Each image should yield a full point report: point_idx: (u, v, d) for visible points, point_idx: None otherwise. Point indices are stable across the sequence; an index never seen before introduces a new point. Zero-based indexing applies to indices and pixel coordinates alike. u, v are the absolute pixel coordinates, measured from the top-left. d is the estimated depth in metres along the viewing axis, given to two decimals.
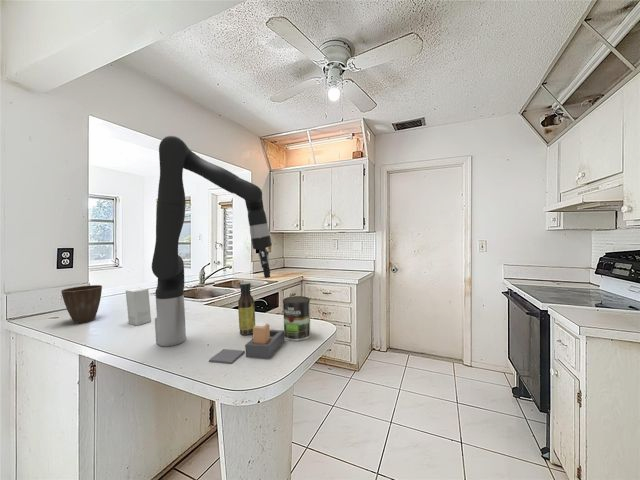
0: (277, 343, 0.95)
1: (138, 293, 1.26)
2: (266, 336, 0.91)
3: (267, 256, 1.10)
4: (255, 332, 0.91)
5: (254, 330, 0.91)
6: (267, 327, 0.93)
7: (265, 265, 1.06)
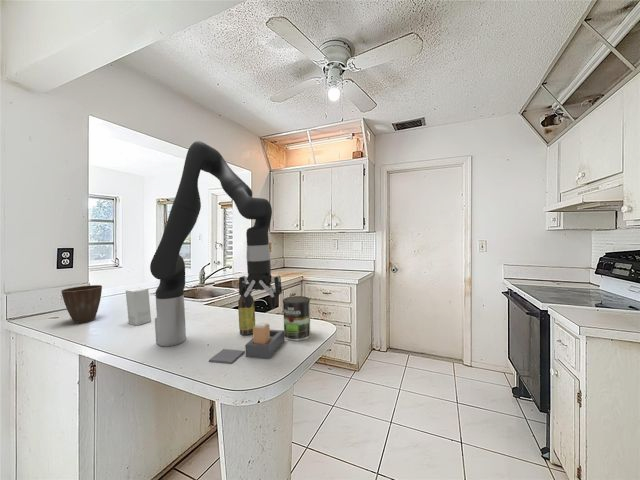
0: (277, 343, 0.95)
1: (138, 293, 1.26)
2: (266, 336, 0.91)
3: (250, 284, 0.92)
4: (255, 332, 0.91)
5: (254, 330, 0.91)
6: (267, 327, 0.93)
7: None
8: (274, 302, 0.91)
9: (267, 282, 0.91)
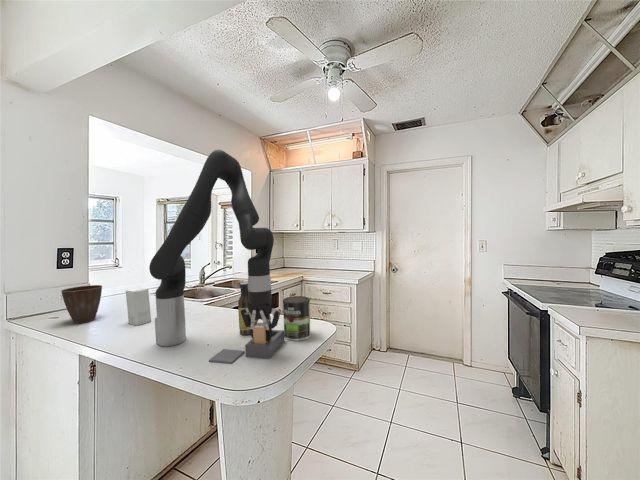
0: (277, 343, 0.95)
1: (138, 293, 1.26)
2: None
3: (252, 315, 0.92)
4: (255, 332, 0.91)
5: (254, 330, 0.91)
6: None
7: None
8: (269, 335, 0.91)
9: (267, 314, 0.91)
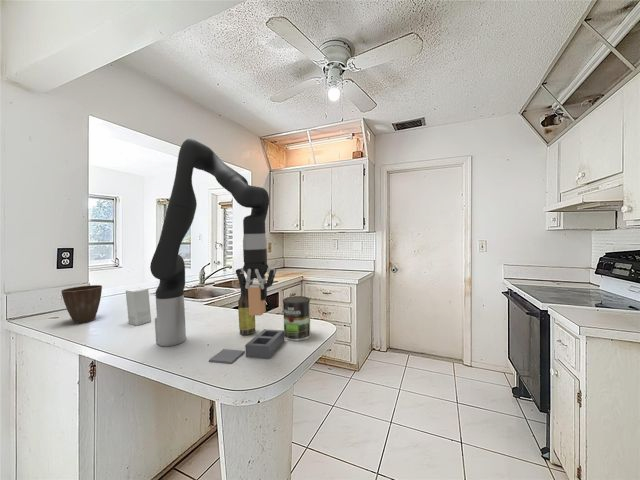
0: (277, 343, 0.95)
1: (138, 292, 1.26)
2: None
3: (247, 274, 0.91)
4: (250, 292, 0.90)
5: (249, 290, 0.90)
6: None
7: None
8: (264, 294, 0.91)
9: (262, 273, 0.90)
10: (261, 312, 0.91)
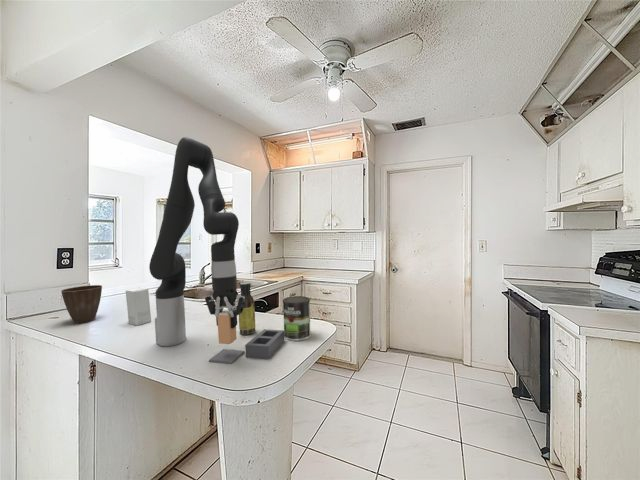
0: (277, 343, 0.95)
1: (138, 293, 1.26)
2: None
3: None
4: (219, 320, 0.89)
5: (218, 318, 0.89)
6: None
7: None
8: (234, 322, 0.89)
9: (231, 301, 0.88)
10: (231, 340, 0.89)
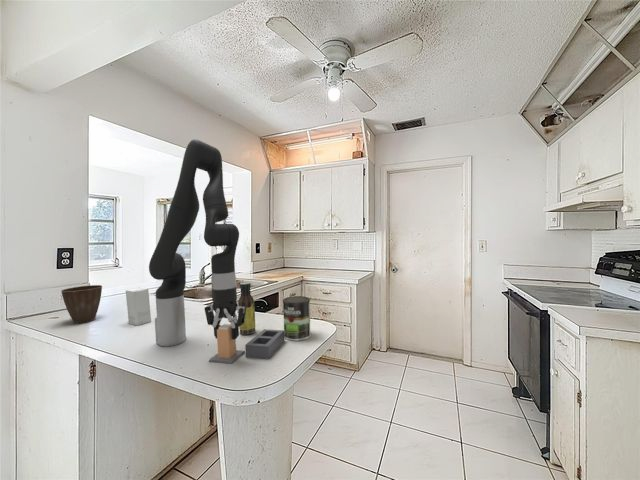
0: (277, 343, 0.95)
1: (138, 293, 1.26)
2: (230, 337, 0.89)
3: None
4: (219, 334, 0.89)
5: (218, 332, 0.89)
6: None
7: None
8: (235, 333, 0.89)
9: (231, 312, 0.88)
10: (230, 354, 0.89)
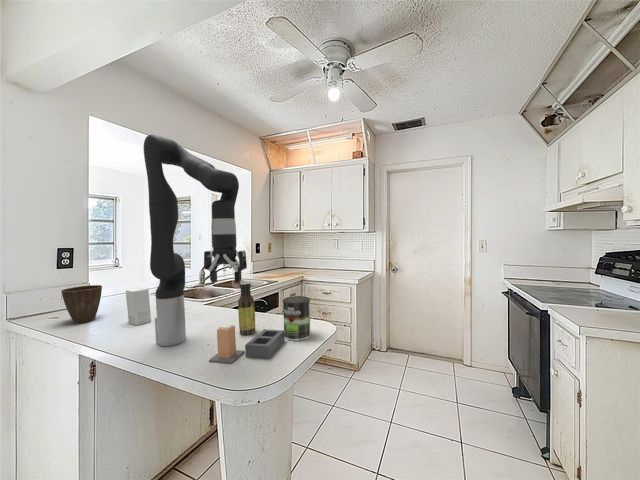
0: (277, 343, 0.95)
1: (138, 293, 1.26)
2: (230, 337, 0.89)
3: None
4: (219, 334, 0.89)
5: (218, 332, 0.89)
6: (232, 329, 0.90)
7: None
8: (238, 277, 0.89)
9: (231, 256, 0.89)
10: (230, 354, 0.89)
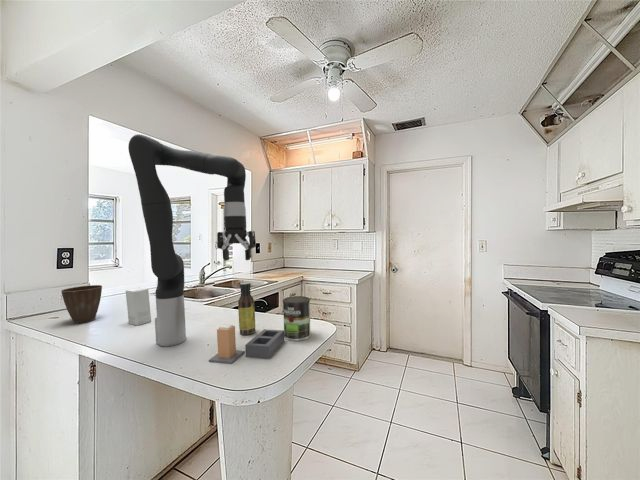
0: (277, 343, 0.95)
1: (138, 293, 1.26)
2: (230, 337, 0.89)
3: (227, 238, 1.01)
4: (219, 334, 0.89)
5: (218, 332, 0.89)
6: (232, 329, 0.90)
7: None
8: (248, 254, 1.00)
9: (242, 236, 1.00)
10: (230, 354, 0.89)
